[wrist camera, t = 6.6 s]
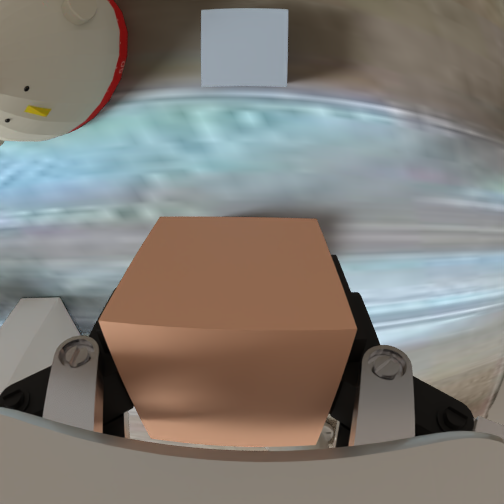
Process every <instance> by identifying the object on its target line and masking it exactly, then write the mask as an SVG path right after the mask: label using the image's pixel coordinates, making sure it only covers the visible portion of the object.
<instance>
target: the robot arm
mask: <svg viewBox="0 0 504 504" xmlns="http://www.w3.org/2000/svg"><path fill="white" fill-rule="evenodd" d="M331 257H332V260H333V262H334V265H335V268H336V270H337V273H338V276H339V278H340V281H341V284H342V287H343V289H344V292H345V295H346V298H347V301H348V303H349V306H350V309H351V312H352V315H353V318H354V321H355V324H356V327H357V331H356V335H355V338H354V341H353V344H352V348H351V351H350V354H349V357H348V360H347V363H346V366H345V369H344V372H343V375H342V378H341V381H340V384H339V387H338V389H337V392H336V395H335V398H334V400H333V403H332V406H331V408H330V411H329V414H330V415H331V416H332V417H333V418H335V419H336V420H338V421H337V426H336V432H335V437H334V443H333V448H329V445H328V442H329V441H330V440H331V439H332V438H333V435H334V434H333V428H332V426H331V425H330V424H328V423H326V422H325V424H324V426H323V429H322V431H321V434H320V436H319V439H318V441H317V443H316V445H308V446H285V447H264V448H266V449H268V450H269V451H237V450H217V449H203V448H192V447H182V446H174V445H166V444H158V443H152V442H145V441H139V440H133V439H130V432H129V413H128V410H130V409H132V408H133V406H134V405H133V402H132V400H131V398H130V396H129V394H128V392H127V390H126V388H125V385H124V383H123V381H122V379H121V376H120V374H119V372H118V369H117V367H116V365H115V362H114V360H113V358H112V355H111V353H110V350H109V348H108V345H107V343H106V340H105V337H104V335H103V332H102V329H101V327H100V324H99V321H98V320H99V318H100V317H101V315H102V313H103V311H104V309H105V307H106V306H107V304H108V302H109V300H110V298H111V297H112V295H113V293H114V291H115V290H116V288H115V290H114V291H113V293H112V295H111V296H110V298H109V300H108V302H107V303H106V305H105V307H104V309H103V311H102V313H101V314H100V316H99V318H98V320H97V322H96V324H95V325H94V327H93V329H92V331H91V333H90V335H89V337H88V336H74V337H71V338H69V339H67V340H65V341H64V342H62V343H61V344H60V345H59V346H58V348H57V349H56V352H55V354H54V358H53V363H52V365H51V366H49V367H47V368H45V369H43V370H41V371H39V372H37V373H35V374H32V375H30V376H28V377H26V378H24V379H22V380H20V381H18V382H16V383H14V384H11V385H10V386H8V387H7V388H5V389H4V390H3V391H2V393H1V394H0V504H504V425H501V424H499V423H496V422H493V421H491V420H488V419H486V418H483V417H481V416H478V417H477V418H476V419H475V418H474V417H473V415H472V413H471V411H470V410H469V408H468V407H467V406H466V405H465V404H463V403H462V402H460V401H458V400H456V399H454V398H453V397H451V396H449V395H447V394H445V393H443V392H441V391H440V390H438V389H436V388H434V387H432V386H430V385H429V384H427V383H425V382H423V381H421V380H419V379H418V378H416V377H414V376H413V373H412V365H411V361H410V359H409V358H408V356H407V355H406V354H405V353H404V352H402V351H401V350H399V349H397V348H395V347H392V346H388V345H380V343H379V340H378V338H377V335H376V332H375V330H374V327H373V325H372V322H371V320H370V317H369V314H368V312H367V309H366V307H365V305H364V302H363V300H362V297H361V295H360V294H359V293H358V292H351V291H350V289H349V286H348V283H347V281H346V278H345V276H344V273H343V271H342V268H341V266H340V263H339V261H338V258H337V256H336V255H331Z"/></svg>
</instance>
